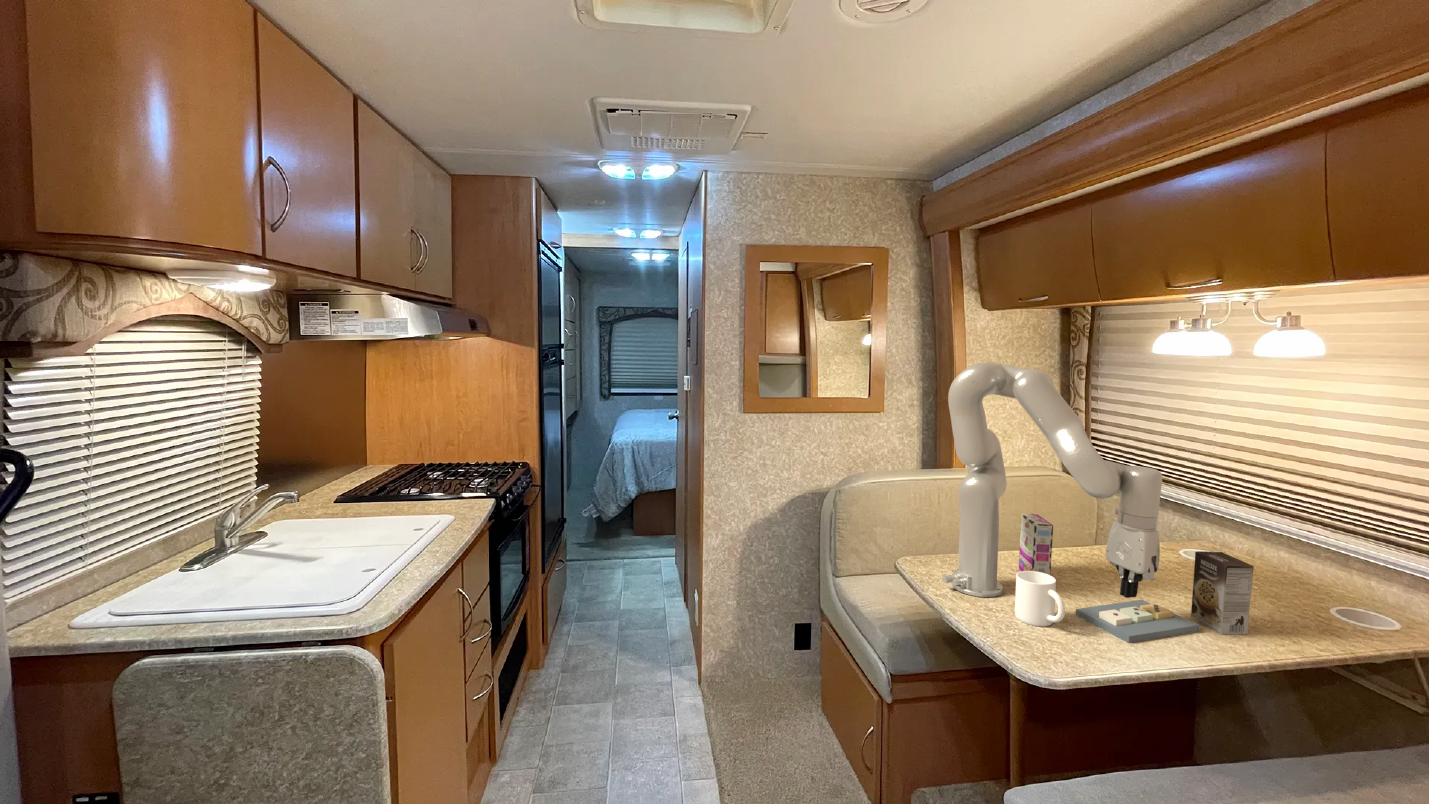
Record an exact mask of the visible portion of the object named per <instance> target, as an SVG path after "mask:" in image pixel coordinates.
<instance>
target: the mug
mask: <svg viewBox="0 0 1429 804" xmlns="http://www.w3.org/2000/svg"><path fill="white" fill-rule="evenodd" d="M1015 577H1016V578H1015V599H1014V600H1015V601H1014V615H1015V617H1016V618H1017V619H1018V620H1019V621H1020V622H1022V623H1024V624H1026V625H1029V626H1033V627H1048V626H1051V625H1053V623H1059V622H1061V621H1062V620H1063V619H1064V617H1065V614H1066V613H1065V612H1066V607H1065V603H1064V600H1063V598H1062V597H1061V595H1060V594H1059V593H1058V592H1057V591H1056V586H1057V579H1056V578H1055V577H1054V576H1052V575H1051V574H1050V575H1048V574H1045V573H1041V572H1036V571H1021V570H1020V571H1018V572H1016V574H1015ZM1056 604H1057V613H1056V612H1055V610H1056V609H1055V608H1056ZM1055 613H1056V615H1055Z"/></svg>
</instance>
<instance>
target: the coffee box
mask: <svg viewBox="0 0 1429 804" xmlns="http://www.w3.org/2000/svg"><path fill="white" fill-rule="evenodd" d="M1194 555H1195V556H1194V567H1193V568H1194V570H1193V583H1192V596H1191V608H1190V609H1191V610H1190V616H1191V618H1193V619H1194V620H1196V621H1198V622H1200V623H1201V624H1202V625H1204V626H1205V627H1207V628H1209V629H1211V630H1212V631H1214V632H1216V633H1218V634H1219V635H1239V634H1240V635H1241V634H1247V635H1248V631H1249V630H1248V628H1249V618H1250V607H1251V599H1252V590H1253V589H1252V588H1253V579H1254V578H1253V577H1254V569H1255V568H1254V565H1252V564H1250V563H1248V562H1245V561H1243V560H1241V559H1239V558H1237V557H1234V556H1232V555H1229V554H1227V553H1225V552H1223V551H1207V550H1206V551H1195V552H1194ZM1241 636H1242V635H1241Z"/></svg>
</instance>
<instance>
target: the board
mask: <svg viewBox="0 0 1429 804" xmlns="http://www.w3.org/2000/svg"><path fill="white" fill-rule="evenodd" d="M1149 604H1152V603H1151V602H1150V601H1149V602H1148V601H1146V600H1143V599H1137V600H1131V601H1122V602H1116V603H1109V604H1102V605H1096V606H1087V607H1081V608H1075V616H1076V617H1079V618H1081V620H1085V621H1086V622H1088V623H1091V624H1092V625H1094V626H1096V627H1098V628H1100V629H1101V630H1104V631H1105V632H1107V633H1108V634H1111V635H1113V636H1115V637H1116V638H1119V639H1121V640H1122V641H1124V642H1126V643H1129V644H1130V643H1137V642H1141V641H1142V642H1143V641H1149V640H1153V639H1160V638H1167V637H1172V636H1177V635H1180V636H1181V635H1184V634H1192V633H1197V632H1198V633H1199V632H1200V628H1201V627H1200V626H1201V624H1198V623H1197V622H1194V621H1191V620H1190V619H1187V618H1185V617H1183V616H1180V615H1178V614H1177V613H1174V612H1173V618H1166V619H1160V620H1158V619H1155V618H1153V621H1147V622H1140V623H1136V622H1134V621H1132V624H1127V625H1121V626H1115V625H1113V624H1111V623H1109V622H1107V621H1105V620H1103V619H1101V618H1099V612H1100V611H1107V610H1114V609H1115V610H1117V611H1119V612H1120V609H1121V608H1128V607H1137V608H1140V606H1142V605H1149Z"/></svg>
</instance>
